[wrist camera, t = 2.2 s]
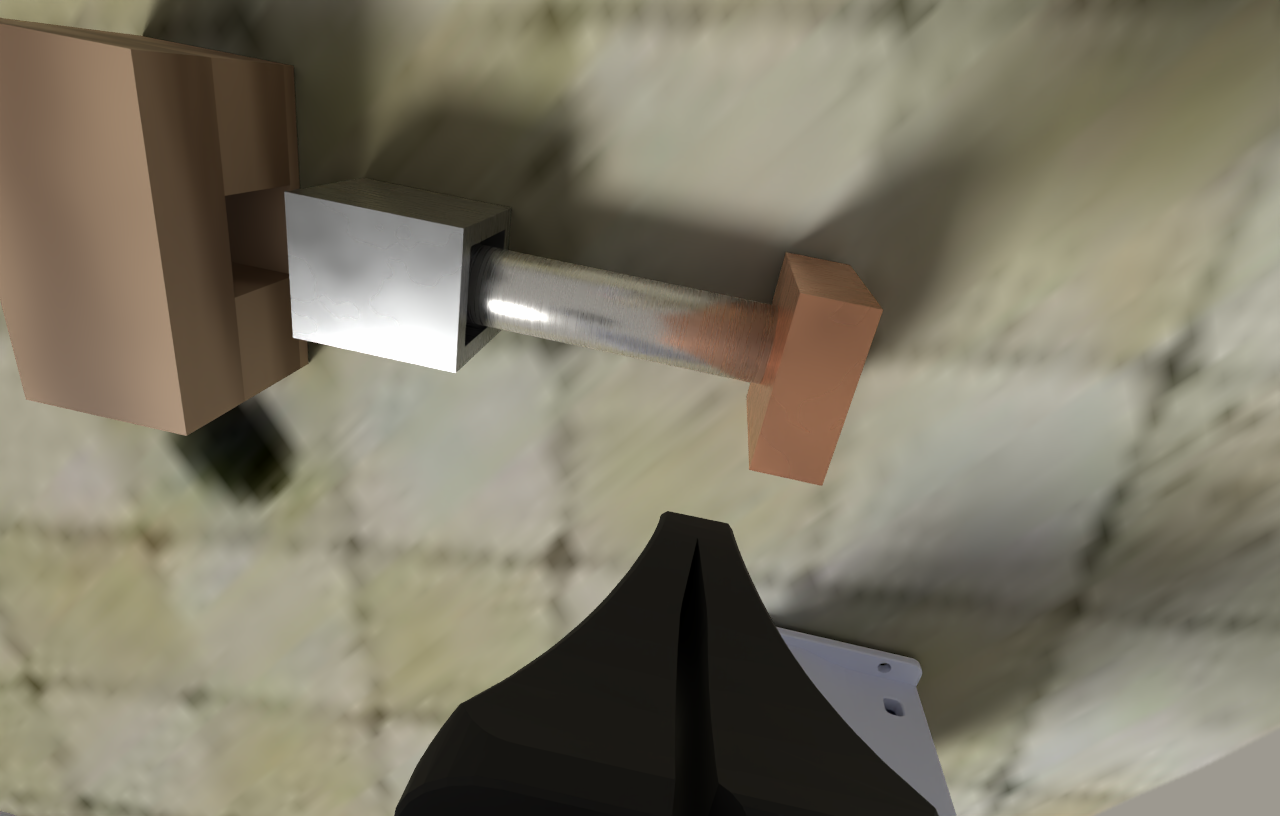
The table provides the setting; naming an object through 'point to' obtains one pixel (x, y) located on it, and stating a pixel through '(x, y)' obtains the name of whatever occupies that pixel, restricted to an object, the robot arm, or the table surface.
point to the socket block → (144, 223)
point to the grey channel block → (388, 269)
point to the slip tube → (706, 338)
